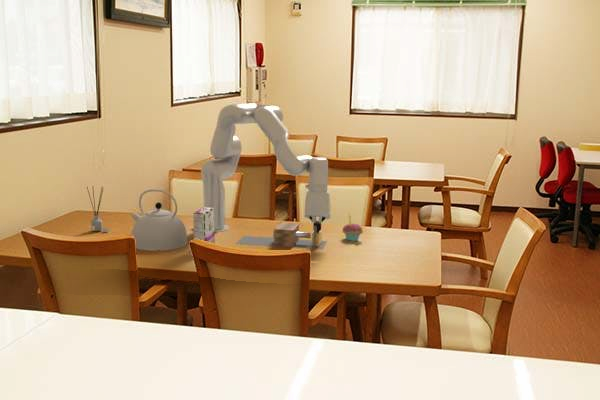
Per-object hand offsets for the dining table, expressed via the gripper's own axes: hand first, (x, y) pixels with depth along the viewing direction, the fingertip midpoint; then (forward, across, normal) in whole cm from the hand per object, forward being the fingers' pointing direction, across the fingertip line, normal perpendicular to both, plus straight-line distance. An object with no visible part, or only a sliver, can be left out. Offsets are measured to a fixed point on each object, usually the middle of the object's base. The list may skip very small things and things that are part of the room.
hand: (317, 232), depth 268 cm
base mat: (+6, -15, 0) cm, 16 cm away
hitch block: (+5, -8, 0) cm, 10 cm away
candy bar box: (+6, -43, -17) cm, 46 cm away
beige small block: (+5, 0, 0) cm, 5 cm away
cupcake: (+6, +13, +13) cm, 20 cm away
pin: (+4, -10, 0) cm, 11 cm away
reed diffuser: (+6, -97, +2) cm, 97 cm away
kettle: (+6, -65, -11) cm, 66 cm away
